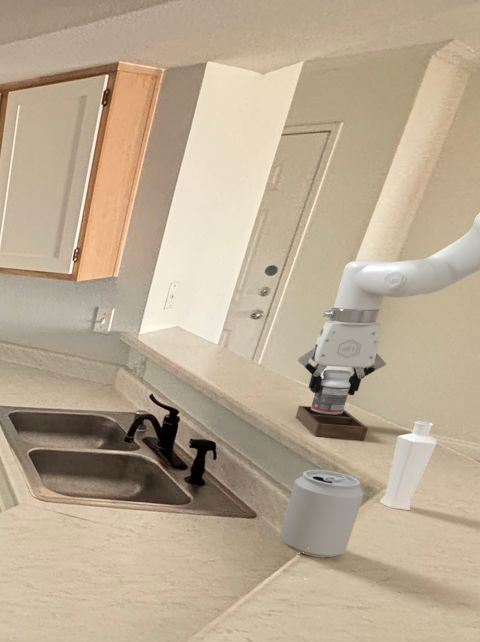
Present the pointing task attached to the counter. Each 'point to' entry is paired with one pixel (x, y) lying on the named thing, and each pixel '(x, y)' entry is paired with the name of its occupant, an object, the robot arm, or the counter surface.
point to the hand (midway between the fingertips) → (331, 392)
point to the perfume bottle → (408, 465)
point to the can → (321, 513)
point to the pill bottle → (332, 392)
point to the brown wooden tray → (331, 424)
